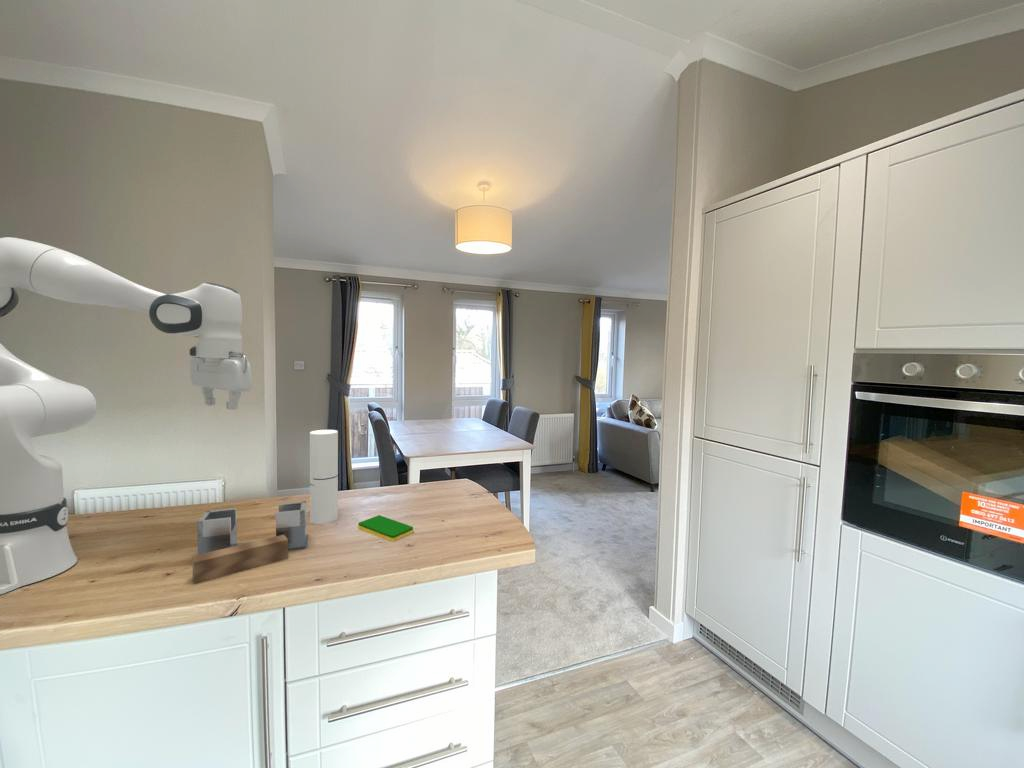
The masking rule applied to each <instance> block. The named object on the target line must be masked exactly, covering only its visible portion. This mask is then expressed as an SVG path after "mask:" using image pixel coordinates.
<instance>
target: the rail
mask: <svg viewBox="0 0 1024 768" xmlns="http://www.w3.org/2000/svg"><path fill="white" fill-rule="evenodd" d="M249 542H250V543H246V544H242V545H237V546H233V547H229V548H225V549H220V550H216V551H212V552H208V553H204V554H199V555H198V554H197V555H192V578H193V579H192V580H193V584H194V585H196V584H201V583H203V582H207V581H211V580H214V579H218V578H222V577H226V576H229V575H233V574H236V573H237V574H238V573H240V572H244V571H247V570H252V569H255V568H259V567H262V566H266V565H270V564H272V563H276V562H280V561H284V560H287V559H289V551H288V539H287V538H286V536H285V535H279V536H276V535H275V536H272V537H267V538H262V539H260V540H254V542H253V541H249Z"/></svg>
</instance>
